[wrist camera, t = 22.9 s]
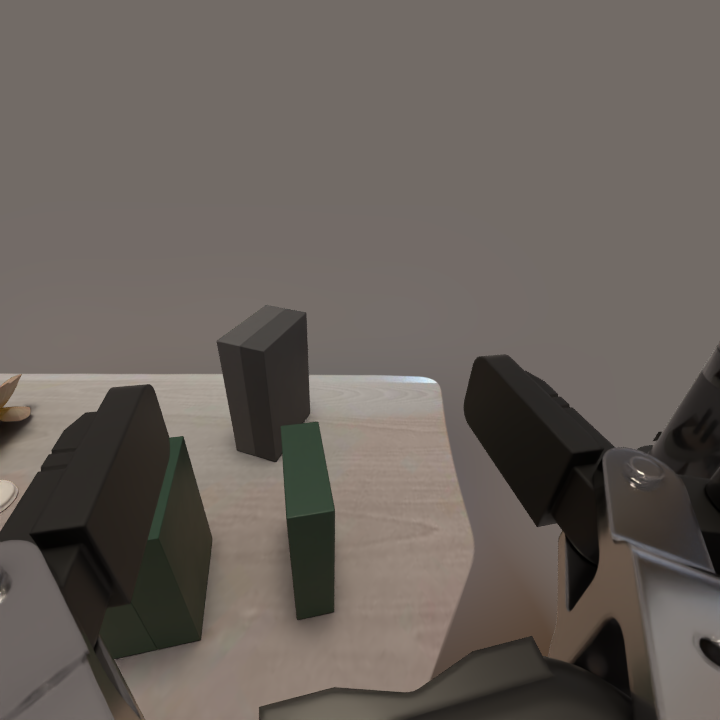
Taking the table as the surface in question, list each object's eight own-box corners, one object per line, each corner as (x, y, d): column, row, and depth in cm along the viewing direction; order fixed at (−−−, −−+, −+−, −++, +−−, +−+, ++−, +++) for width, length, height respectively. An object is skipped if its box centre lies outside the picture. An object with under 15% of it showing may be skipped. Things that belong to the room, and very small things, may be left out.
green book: (320, 520, 40) (318, 421, 32) (334, 612, 33) (335, 510, 25) (290, 526, 39) (280, 425, 32) (297, 620, 32) (286, 518, 24)
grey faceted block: (310, 412, 55) (306, 312, 46) (275, 462, 47) (263, 351, 38) (275, 403, 56) (266, 304, 47) (236, 450, 48) (216, 340, 39)
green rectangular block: (212, 538, 38) (183, 435, 30) (200, 640, 30) (158, 538, 23) (143, 549, 37) (94, 445, 29) (113, 659, 29) (38, 557, 22)
